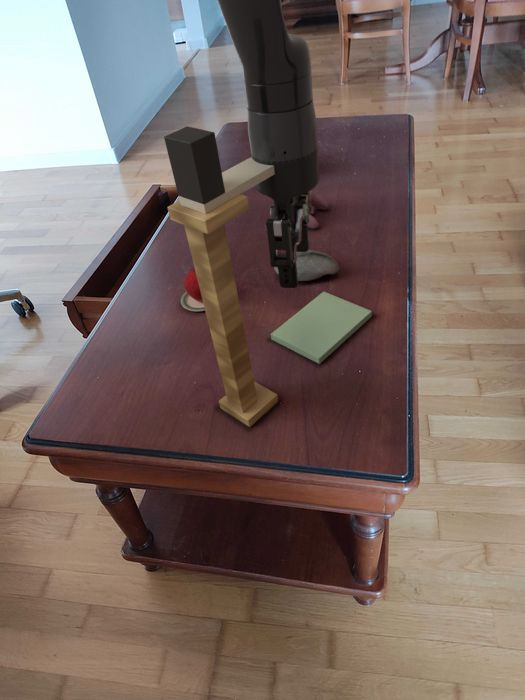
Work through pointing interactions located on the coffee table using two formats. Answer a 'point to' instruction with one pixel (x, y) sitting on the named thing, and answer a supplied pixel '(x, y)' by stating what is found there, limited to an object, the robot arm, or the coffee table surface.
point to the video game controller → (317, 203)
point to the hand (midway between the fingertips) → (295, 267)
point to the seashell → (314, 265)
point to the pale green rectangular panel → (321, 326)
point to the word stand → (224, 306)
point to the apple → (192, 293)
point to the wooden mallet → (208, 170)
